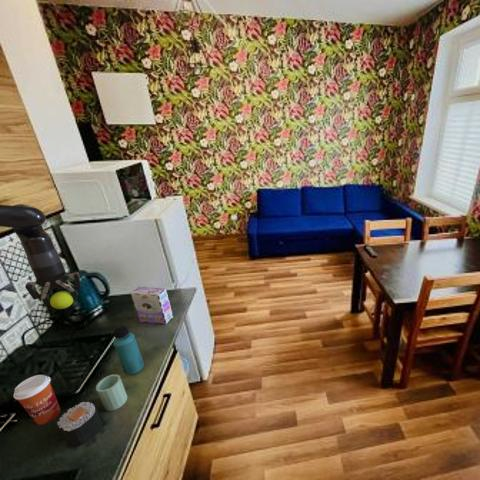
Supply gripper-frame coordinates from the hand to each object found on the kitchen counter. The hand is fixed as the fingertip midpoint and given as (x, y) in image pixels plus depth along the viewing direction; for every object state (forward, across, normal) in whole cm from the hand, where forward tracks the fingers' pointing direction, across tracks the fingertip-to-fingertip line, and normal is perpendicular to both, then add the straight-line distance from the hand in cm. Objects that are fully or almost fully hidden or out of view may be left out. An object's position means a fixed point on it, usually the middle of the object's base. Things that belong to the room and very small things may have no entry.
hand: (63, 302), depth 97 cm
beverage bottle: (+25, -16, +22) cm, 37 cm away
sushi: (+25, -2, +38) cm, 46 cm away
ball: (-1, 0, 0) cm, 1 cm away
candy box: (+25, -26, -6) cm, 36 cm away
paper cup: (+25, +8, +26) cm, 37 cm away
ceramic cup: (+24, -9, +33) cm, 42 cm away
